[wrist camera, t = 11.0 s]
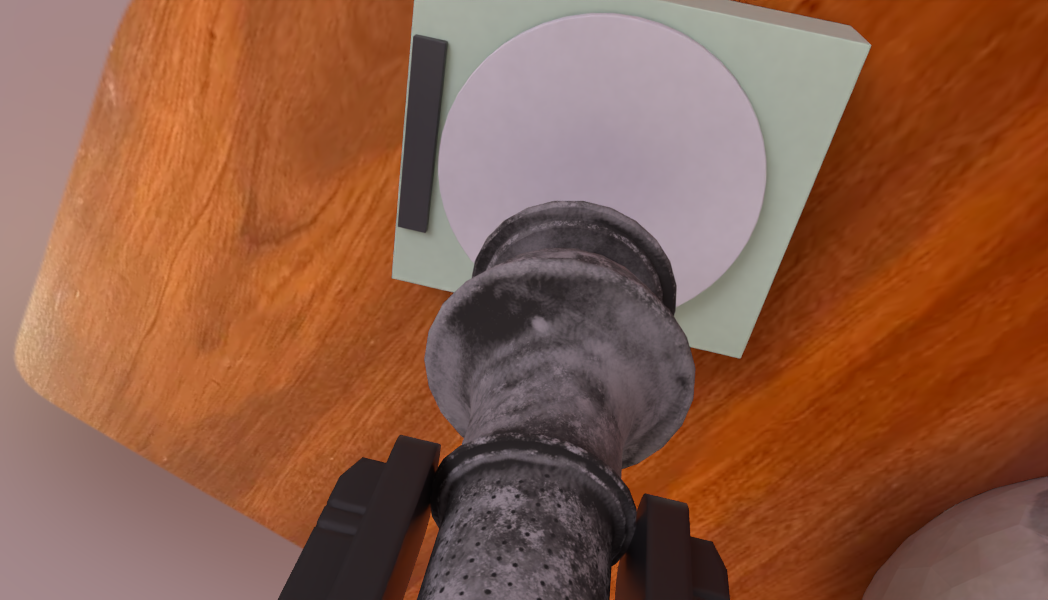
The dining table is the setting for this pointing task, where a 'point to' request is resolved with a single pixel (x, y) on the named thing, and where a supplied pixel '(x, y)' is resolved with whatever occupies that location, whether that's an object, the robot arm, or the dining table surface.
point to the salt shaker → (551, 403)
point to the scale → (623, 135)
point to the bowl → (975, 551)
